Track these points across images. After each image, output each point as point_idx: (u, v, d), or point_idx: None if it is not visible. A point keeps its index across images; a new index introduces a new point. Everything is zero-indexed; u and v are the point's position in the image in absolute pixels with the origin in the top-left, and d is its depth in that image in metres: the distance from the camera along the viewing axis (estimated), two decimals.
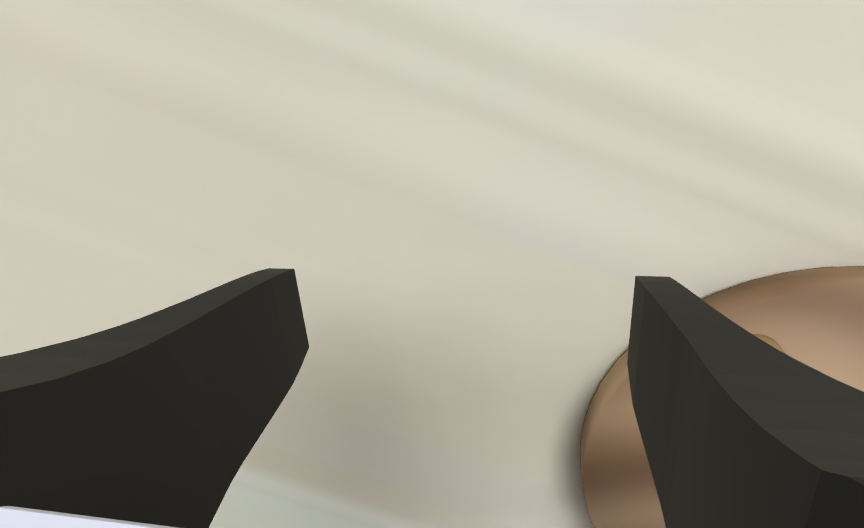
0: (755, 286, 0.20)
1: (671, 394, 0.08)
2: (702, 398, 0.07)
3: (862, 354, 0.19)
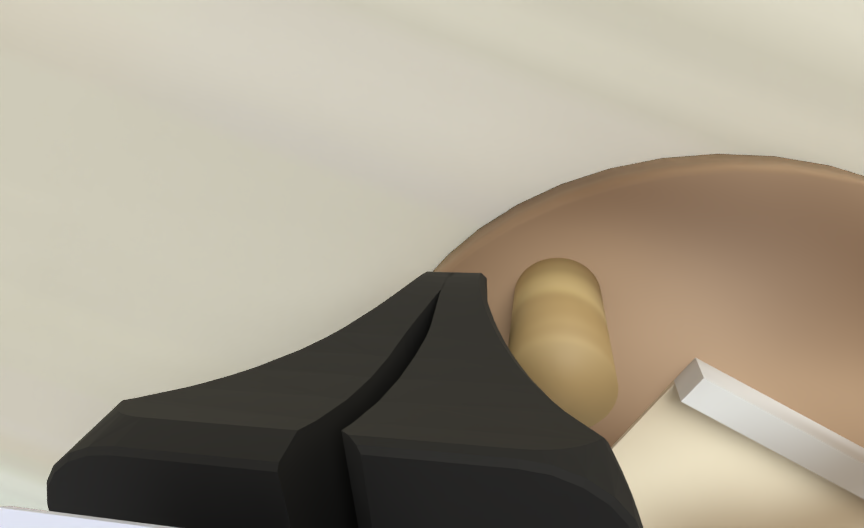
0: (564, 189, 0.13)
1: None
2: None
3: (715, 287, 0.12)
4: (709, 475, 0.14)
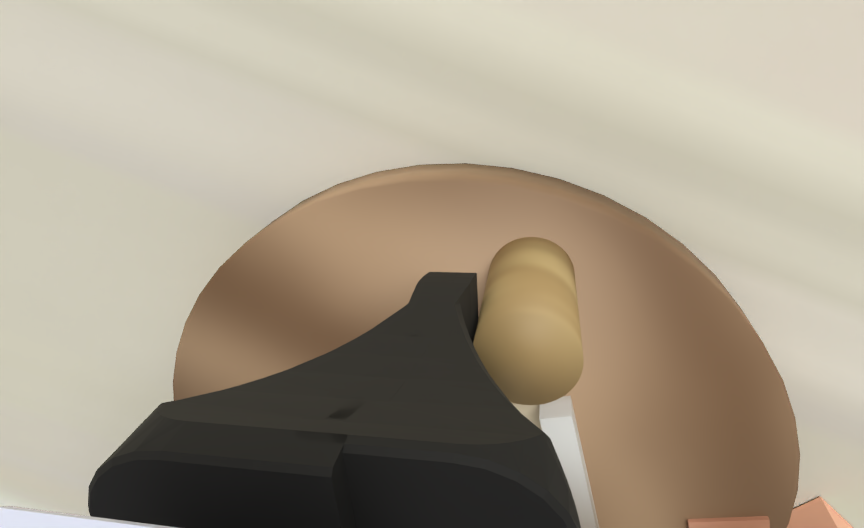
0: (608, 203, 0.13)
1: None
2: None
3: (635, 363, 0.13)
4: None
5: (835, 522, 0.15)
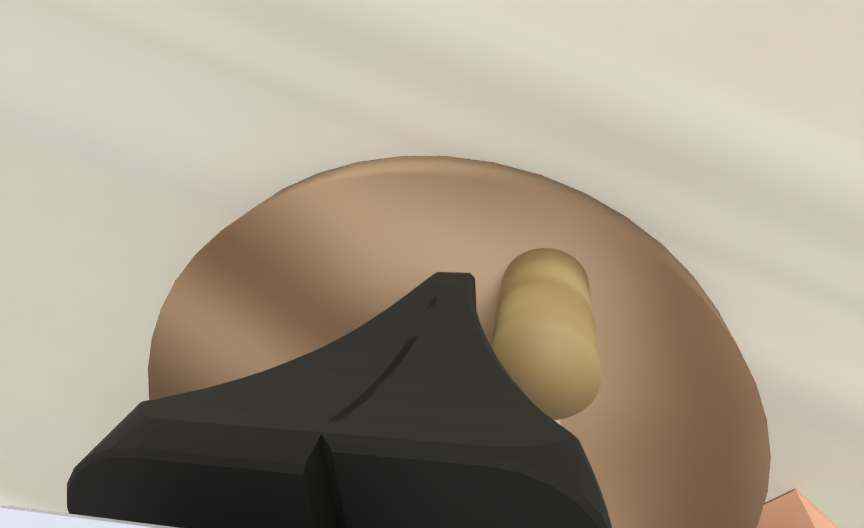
0: (631, 225, 0.13)
1: None
2: None
3: (630, 385, 0.14)
4: None
5: (809, 515, 0.15)
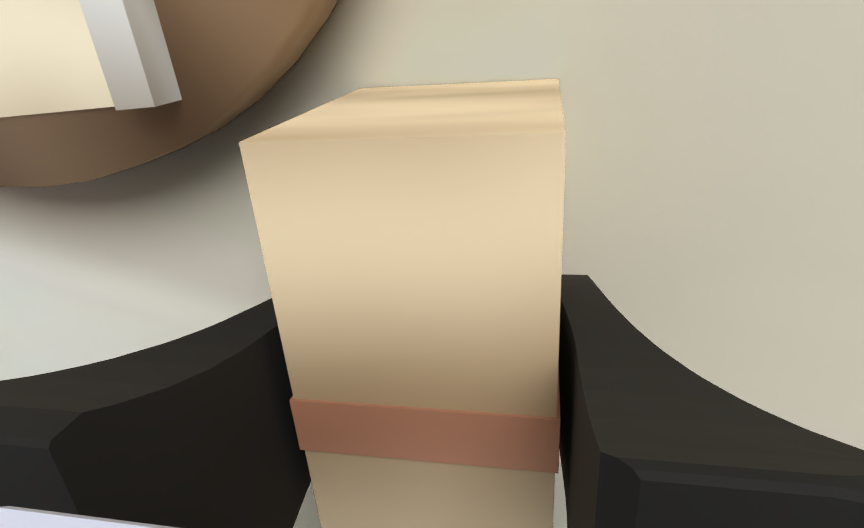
0: None
1: (568, 387, 0.08)
2: (577, 390, 0.07)
3: None
4: None
5: None
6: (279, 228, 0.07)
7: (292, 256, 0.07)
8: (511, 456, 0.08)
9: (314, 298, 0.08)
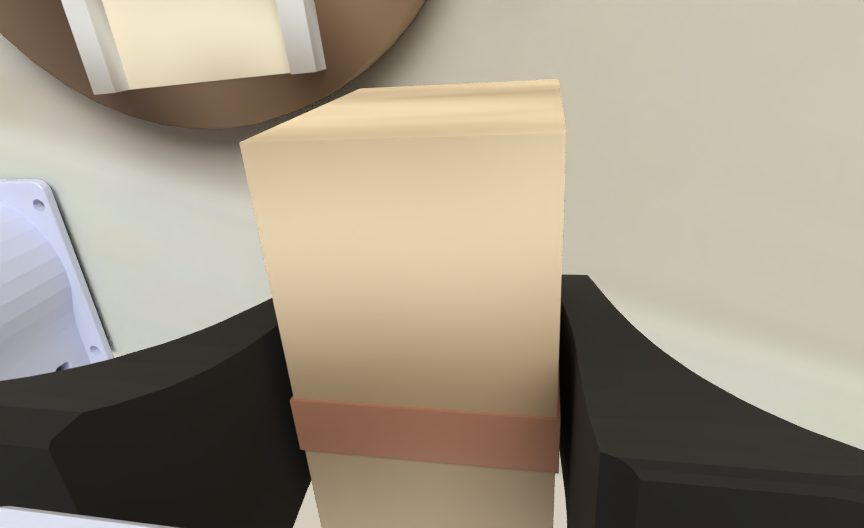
0: None
1: (568, 388, 0.08)
2: (576, 390, 0.07)
3: None
4: None
5: None
6: (280, 229, 0.07)
7: (292, 256, 0.07)
8: (511, 456, 0.08)
9: (314, 298, 0.08)
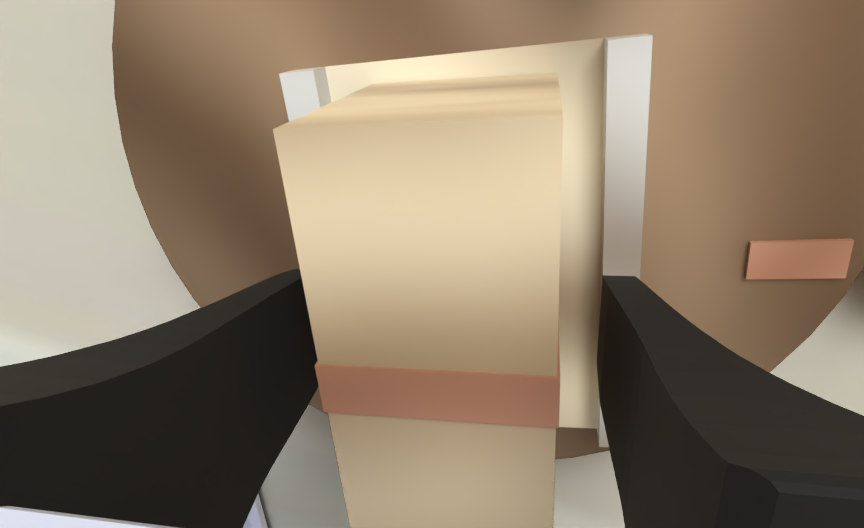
0: None
1: (628, 391, 0.08)
2: (649, 395, 0.07)
3: None
4: None
5: None
6: (308, 207, 0.08)
7: (319, 232, 0.08)
8: (516, 413, 0.09)
9: (338, 270, 0.09)
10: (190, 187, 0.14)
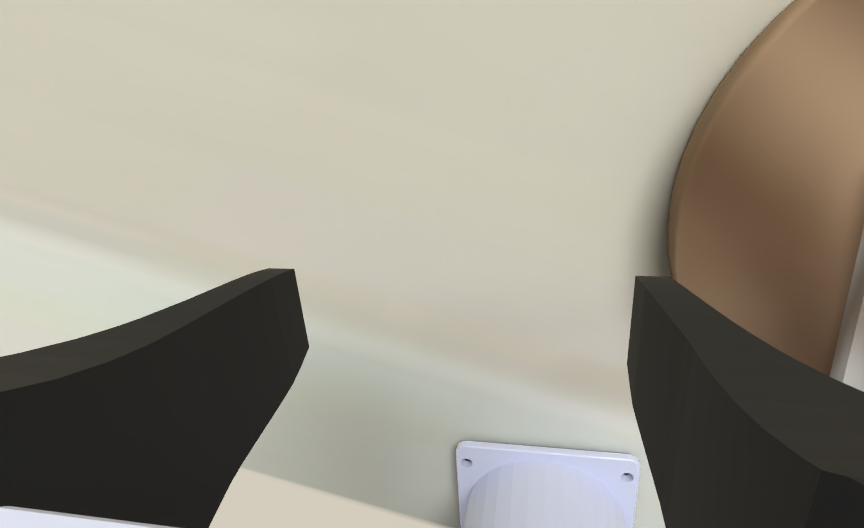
0: None
1: (670, 394, 0.08)
2: (702, 398, 0.07)
3: None
4: None
5: None
6: None
7: None
8: None
9: None
10: (732, 241, 0.17)
